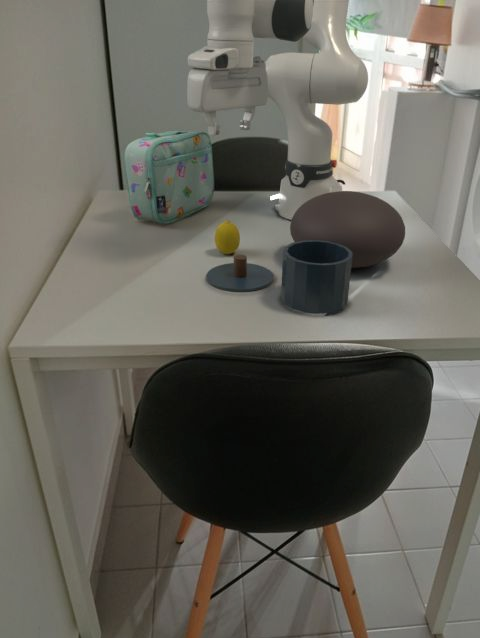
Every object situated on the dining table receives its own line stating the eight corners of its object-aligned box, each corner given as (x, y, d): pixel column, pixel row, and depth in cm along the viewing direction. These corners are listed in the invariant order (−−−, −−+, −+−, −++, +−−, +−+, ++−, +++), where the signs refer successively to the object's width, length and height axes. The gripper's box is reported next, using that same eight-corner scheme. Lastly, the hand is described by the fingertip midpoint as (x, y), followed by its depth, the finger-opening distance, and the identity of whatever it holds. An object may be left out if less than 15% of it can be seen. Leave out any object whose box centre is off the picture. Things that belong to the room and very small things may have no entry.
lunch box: (157, 232, 148) (151, 141, 137) (124, 224, 152) (116, 135, 141) (218, 206, 168) (217, 124, 157) (188, 199, 172) (185, 120, 162)
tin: (301, 282, 124) (303, 235, 119) (357, 297, 118) (363, 249, 113) (269, 304, 114) (270, 254, 109) (329, 322, 109) (334, 270, 104)
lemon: (236, 261, 133) (236, 226, 129) (212, 258, 134) (211, 223, 130) (242, 252, 138) (242, 218, 134) (218, 250, 139) (218, 216, 135)
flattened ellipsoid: (408, 251, 141) (418, 187, 134) (390, 292, 121) (400, 219, 113) (306, 236, 148) (310, 174, 141) (272, 273, 128) (275, 203, 120)
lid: (231, 263, 132) (231, 240, 129) (285, 277, 126) (286, 253, 123) (193, 284, 122) (192, 259, 119) (250, 300, 116) (250, 275, 113)
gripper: (253, 54, 126) (251, 125, 133) (180, 57, 112) (183, 135, 119) (276, 56, 123) (274, 128, 129) (205, 59, 109) (206, 140, 115)
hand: (230, 132), depth 124 cm, fingers open, 8 cm apart
